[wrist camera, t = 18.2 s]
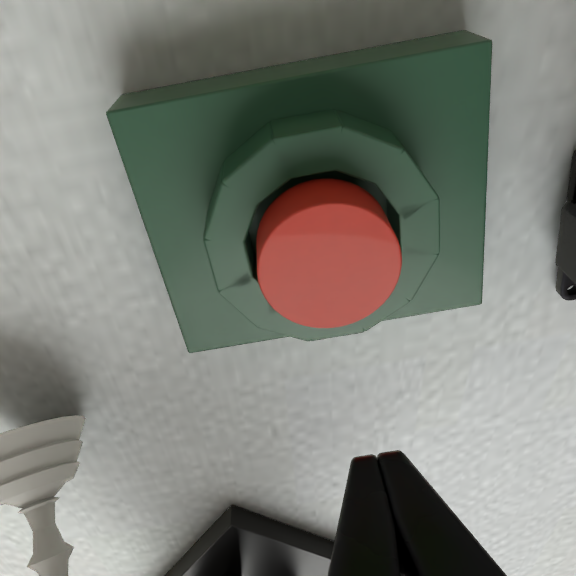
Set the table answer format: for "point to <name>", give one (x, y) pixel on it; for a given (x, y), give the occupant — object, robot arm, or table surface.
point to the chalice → (41, 483)
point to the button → (326, 254)
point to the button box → (313, 175)
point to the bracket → (255, 549)
